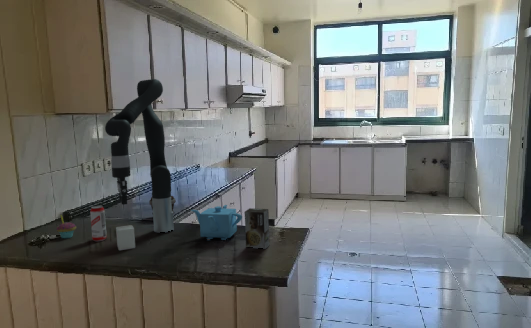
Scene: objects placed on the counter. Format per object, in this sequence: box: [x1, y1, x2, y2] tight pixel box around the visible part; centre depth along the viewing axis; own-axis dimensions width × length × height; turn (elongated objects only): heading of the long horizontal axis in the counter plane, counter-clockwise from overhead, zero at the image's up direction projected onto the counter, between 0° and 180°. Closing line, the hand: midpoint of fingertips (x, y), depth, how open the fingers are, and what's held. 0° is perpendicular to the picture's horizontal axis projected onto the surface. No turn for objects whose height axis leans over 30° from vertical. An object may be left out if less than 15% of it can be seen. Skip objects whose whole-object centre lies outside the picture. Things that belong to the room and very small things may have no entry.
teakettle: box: [190, 204, 243, 241], centre depth 187 cm, size 19×19×15 cm
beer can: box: [89, 205, 107, 243], centre depth 188 cm, size 6×6×16 cm
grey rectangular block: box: [115, 224, 136, 251], centre depth 176 cm, size 7×7×9 cm
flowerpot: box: [148, 188, 176, 215], centre depth 229 cm, size 14×15×20 cm
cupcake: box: [56, 213, 77, 239], centre depth 194 cm, size 9×8×12 cm
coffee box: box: [244, 207, 270, 250], centre depth 172 cm, size 9×6×16 cm
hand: (123, 202), depth 174 cm, fingers open, 8 cm apart
